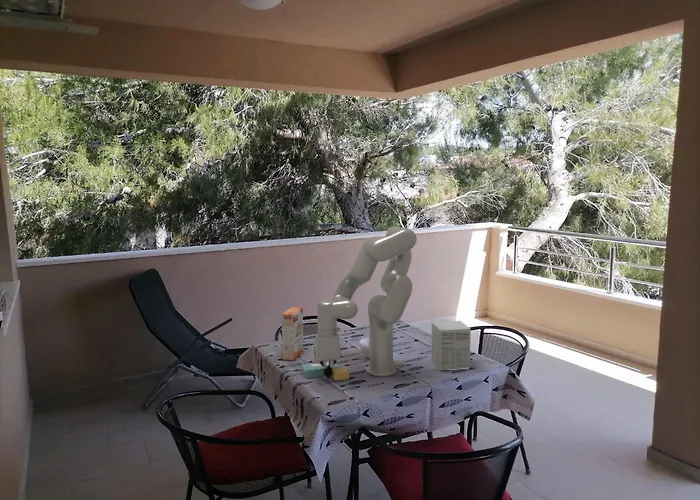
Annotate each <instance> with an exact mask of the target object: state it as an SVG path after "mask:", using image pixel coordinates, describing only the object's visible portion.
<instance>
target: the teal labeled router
mask: <svg viewBox="0 0 700 500" xmlns="http://www.w3.org/2000/svg"><path fill="white" fill-rule="evenodd" d="M326 363H327V366H328V365H329V361H326ZM336 368H340V367H339V365H338V364H337V363H335V365H334V366H333V368H332V369H336ZM301 373H302V375H303V376H304V378H305V379H308V378H309V379H312V378H321V377H322V378H323V377H326V375H324V367H323V366H322V365H321V364H315V362H313V363H303V364H301ZM331 377H332V375H331Z"/></svg>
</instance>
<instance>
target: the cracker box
mask: <svg viewBox="0 0 700 500" xmlns="http://www.w3.org/2000/svg"><path fill="white" fill-rule="evenodd" d="M303 309H304V308H303V307H301V306H290V307H289V308H288V309H286V310H285V311H284V312H283V313H281V345H282V346H281V347H282V349H281V352H282V353H281V356H282V360H283V361H295V360H296V359H297V358H298V357H299V356H300V355H301V354H302V353H303V351H304V322H303V321H304V319H303V318H304V314H303V312H304V311H303Z"/></svg>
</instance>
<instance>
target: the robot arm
mask: <svg viewBox="0 0 700 500" xmlns="http://www.w3.org/2000/svg"><path fill="white" fill-rule="evenodd" d="M417 239H418V238H417V234H416V233H415V232H414V230H412V229H410V228H407V227H401V226H397V225H396V226H391V227H389V228H388V229H387V231H386V234H385V237H384V238H377V237H369V238H367V239H366V240H365V241H364V242H363V244H362V245H361V247H360V249H359V252H358V254H357V256H356V259H355V261H354V263H353V265H352V267H351V269H350V271H349V272H348V273H347V274H346V275H345V276H344V278H343V279H342V280H341V282H340V283H339V284H338V285H337V288H336V290H335V292H334V294H333V297H332V298H331V299H321V300H319V301H317V305H316V311H317V312H316V313H317V314H316V315H317V317H316V319H317V334H315V338H314V348H313V349H314V351H313V356H314V362H313V363H315V364H321V365H322V366H323V367H324V375H326V376H325V377H326V379H329V378H330V379H331V378H332V376H331V375H332V368H333V366H334V365H335V363H336V364H337V363H340V362H342V357H341V356H342V349H341V348H342V347H341V340H340V336H339V333H338V332H341V327H338V325H337V324H338V323H337V322H338V321H337V320H338V319H339V320H340V319H341V320H350V319H353V318H354V317H356V316H357V314H358V310H359V309H358V305H357V303H355V302H354V301H353V300H352V298H353V296H354V294H355V292H356V291H357V290H358V288H360V287H361V286H362V285H365V284H366V283H368V282H369V281H370V280H372V276H373V275H374V272H375V270H376V268H377V266H378V264H379V262H381V263H382V262H385V261H388V260H389V261H388V263H387V266H386V268H385V271H384V272H383V275H382V277H381V280H380V289H382V291H383V292H385V293H386V295H383V294H377V295H373V296H372V297H371V298H370V300H369V301H368V304H367V315H368V322H369V323H368V324H369V365H368V366H367V367H366V368H365V371H366V373H367V374H368V375H371V376H374V377H390V376H393V375H395V374H397V372H398V369H397V368H398V367H404V366H405V361H403V360H401V361H400V359H396V360H394V324H396V323H398V321H400V319H401V318H402V317H403V314H404V312H405V310H406V308H407V304H408V302H409V300H410V297H411V296H412V292H413V282H412V279H410V277H409V276H408V272H409V269H410V266H411V263H412V258H413V257H412V255H413V254H412V249H413V248H414V247H415V246H416V244H417V241H418V240H417ZM326 362H329V365H328V366H327V363H326Z"/></svg>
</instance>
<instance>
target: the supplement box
mask: <svg viewBox="0 0 700 500" xmlns="http://www.w3.org/2000/svg"><path fill="white" fill-rule="evenodd" d="M471 332H472V331H471V327H469V326H468V325H466V324H465V323H464V322H462V321H461V320H450V321H449V320H448V321H432V322H431V362H432V364H433V363H434V364H435V365H434V364H433V365H434V367H436V369H439V370H448V369H459V368H468V367H471ZM439 370H438V371H439Z"/></svg>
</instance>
